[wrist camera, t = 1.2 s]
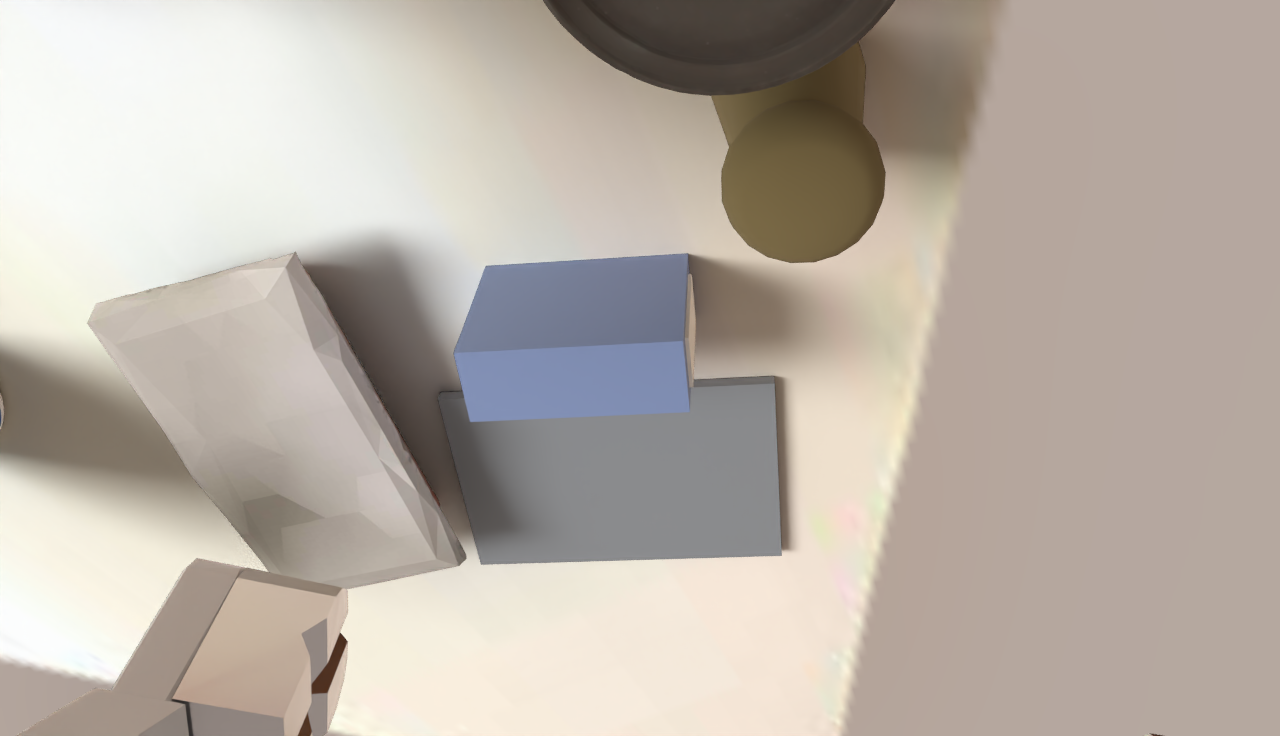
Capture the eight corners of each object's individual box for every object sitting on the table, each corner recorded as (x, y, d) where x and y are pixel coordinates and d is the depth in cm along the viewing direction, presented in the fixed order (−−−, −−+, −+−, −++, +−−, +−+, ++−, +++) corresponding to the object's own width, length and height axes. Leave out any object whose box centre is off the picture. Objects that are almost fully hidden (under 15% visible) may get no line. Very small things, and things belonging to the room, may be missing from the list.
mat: (483, 556, 58) (481, 564, 57) (440, 392, 51) (437, 399, 51) (781, 547, 56) (781, 555, 55) (774, 375, 50) (774, 383, 49)
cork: (682, 53, 41) (671, 172, 32) (825, -27, 39) (855, 76, 30) (754, 179, 44) (762, 320, 35) (891, 110, 42) (937, 242, 33)
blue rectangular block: (499, 329, 49) (470, 422, 44) (485, 265, 47) (453, 353, 42) (697, 318, 48) (693, 412, 43) (691, 252, 46) (686, 340, 41)
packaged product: (312, 540, 58) (480, 505, 56) (284, 608, 54) (463, 573, 52) (126, 263, 48) (321, 208, 46) (75, 320, 44) (285, 263, 42)
